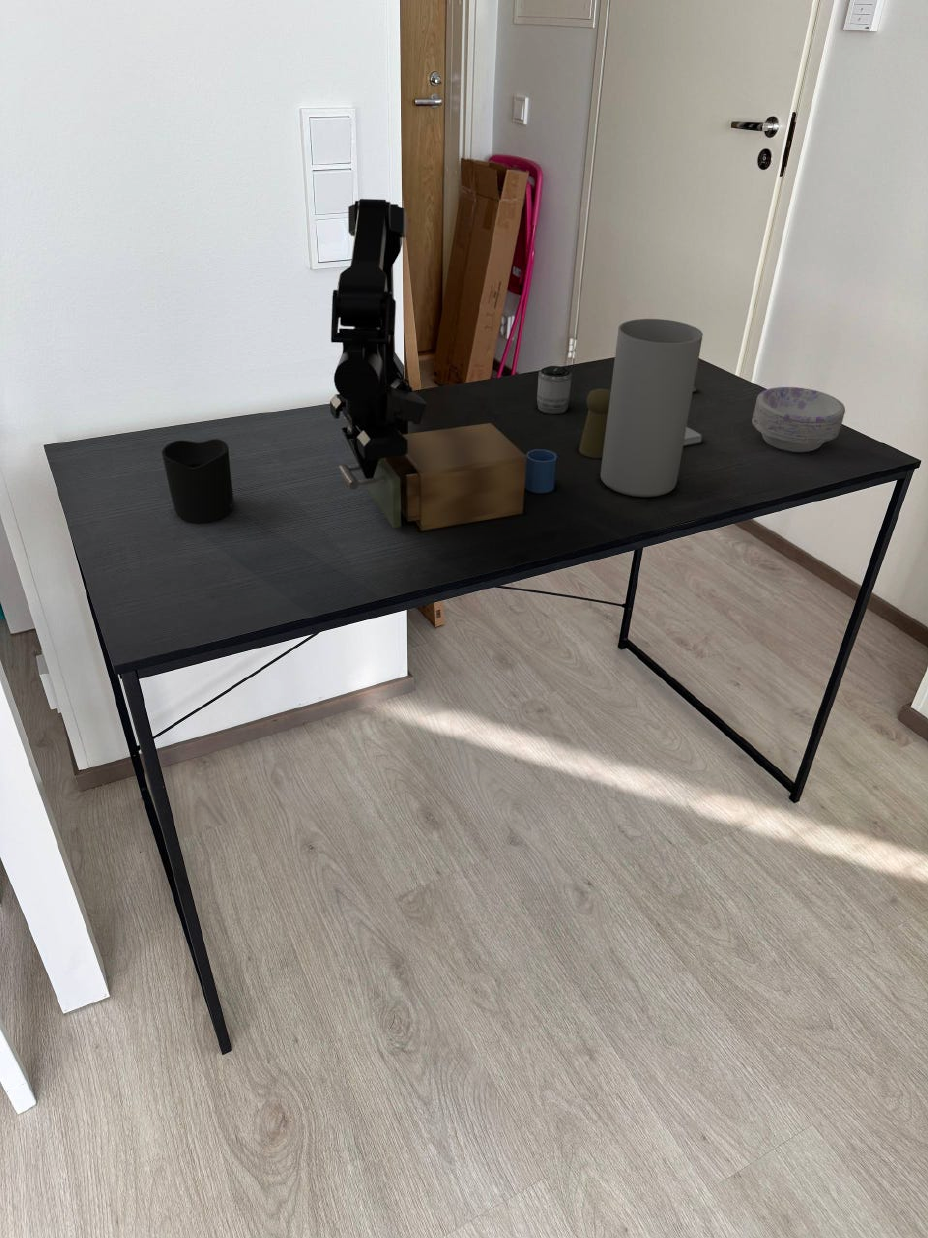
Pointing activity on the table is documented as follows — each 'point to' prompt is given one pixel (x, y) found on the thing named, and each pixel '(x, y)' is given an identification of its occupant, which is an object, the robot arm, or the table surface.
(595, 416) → the cork
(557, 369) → the camera lens
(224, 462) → the pen holder
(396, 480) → the drawer
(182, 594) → the table surface
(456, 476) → the cabinet
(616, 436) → the cylinder vase
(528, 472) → the cup
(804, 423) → the paper bowls
